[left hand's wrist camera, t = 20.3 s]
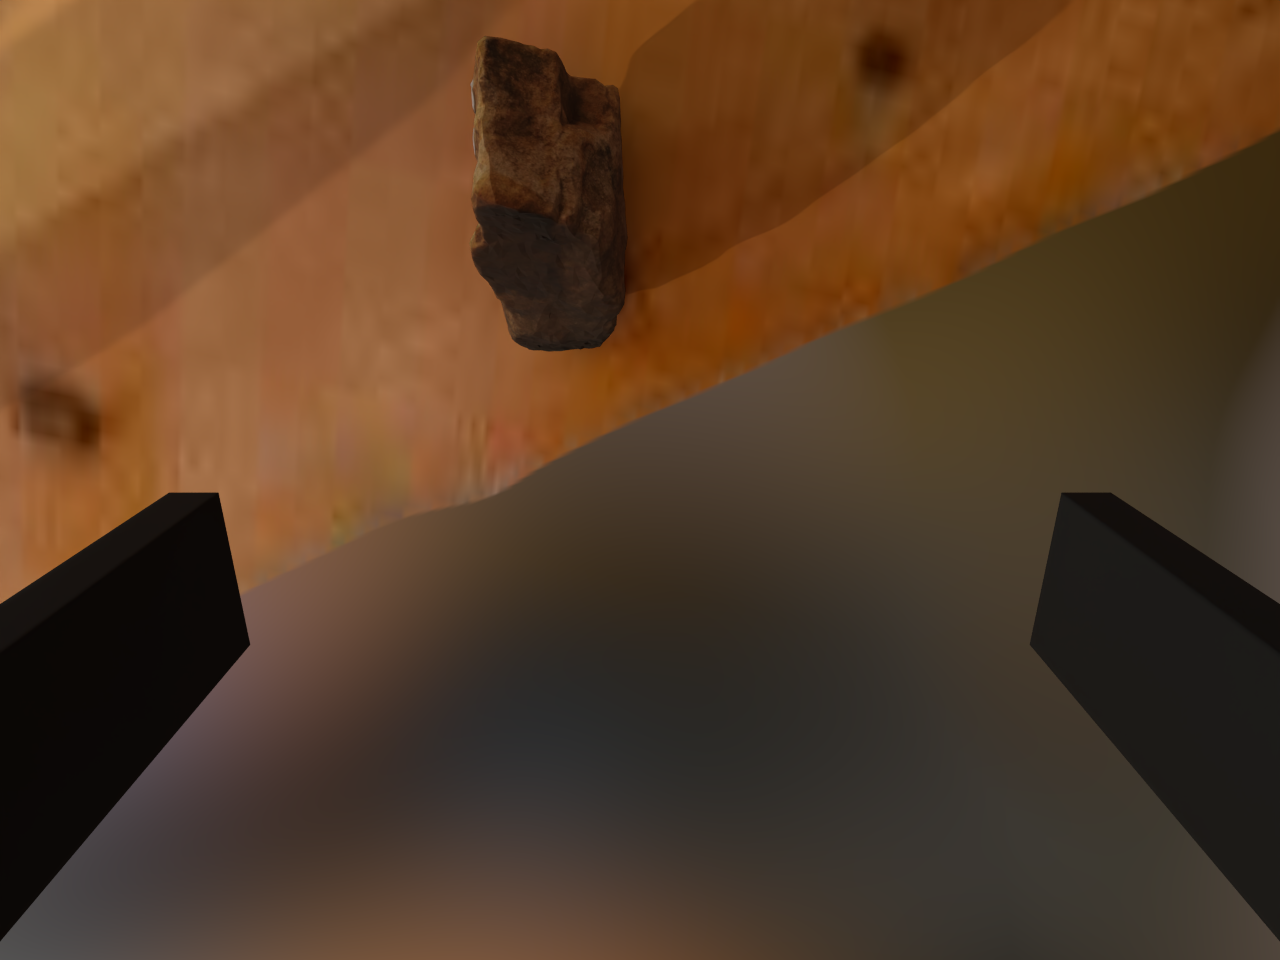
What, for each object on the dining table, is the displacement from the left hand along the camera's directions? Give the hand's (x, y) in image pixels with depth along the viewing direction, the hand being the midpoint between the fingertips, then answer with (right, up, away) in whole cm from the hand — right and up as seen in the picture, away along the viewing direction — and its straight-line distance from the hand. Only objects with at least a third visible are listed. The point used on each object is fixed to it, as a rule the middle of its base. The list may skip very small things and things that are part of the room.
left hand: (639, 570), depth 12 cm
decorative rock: (-4, +14, +24) cm, 28 cm away
